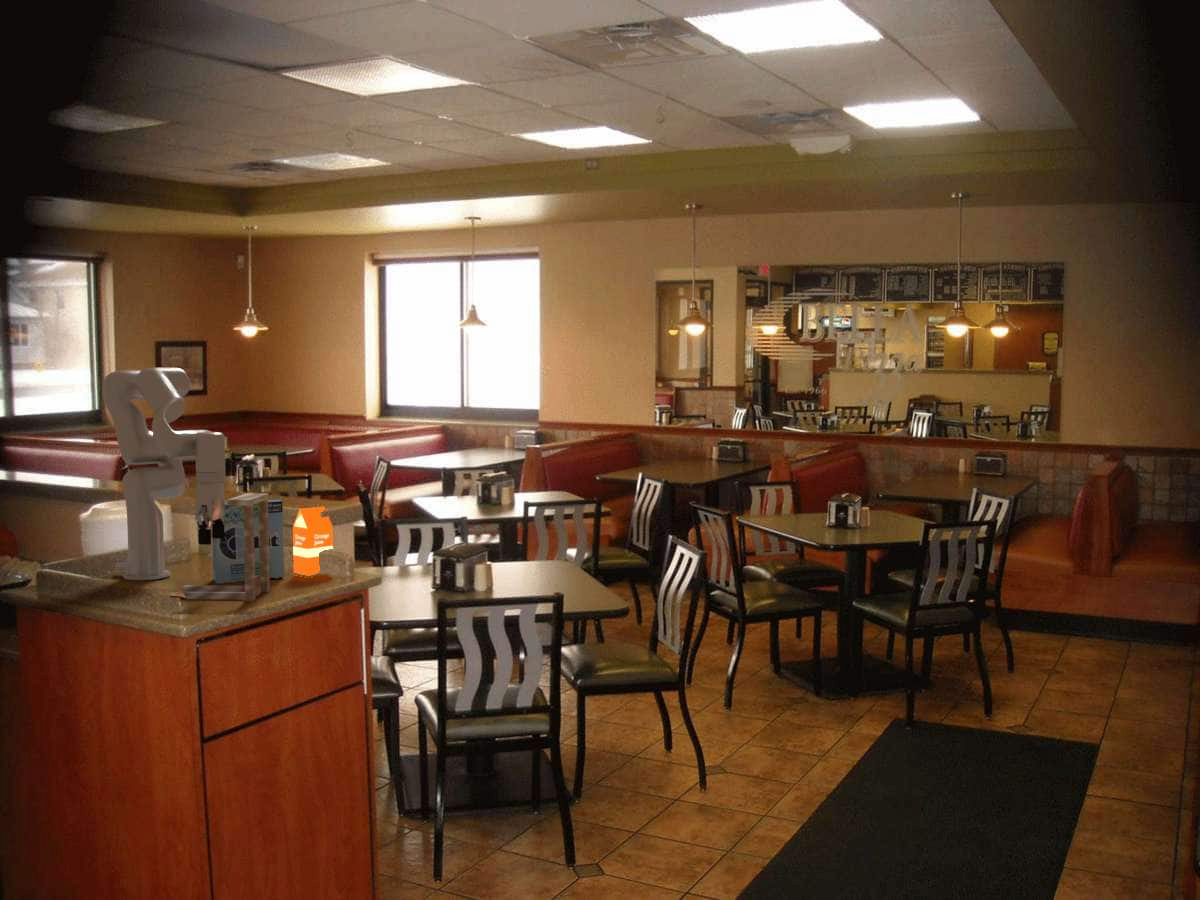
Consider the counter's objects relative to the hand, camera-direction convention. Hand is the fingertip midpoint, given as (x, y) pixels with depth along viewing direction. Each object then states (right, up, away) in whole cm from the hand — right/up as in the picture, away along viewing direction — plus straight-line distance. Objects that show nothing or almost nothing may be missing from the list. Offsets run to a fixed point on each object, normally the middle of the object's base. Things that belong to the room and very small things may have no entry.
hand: (211, 541), depth 301 cm
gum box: (+3, -13, +23) cm, 27 cm away
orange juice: (+19, -13, +32) cm, 40 cm away
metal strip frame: (+2, -15, +1) cm, 15 cm away
